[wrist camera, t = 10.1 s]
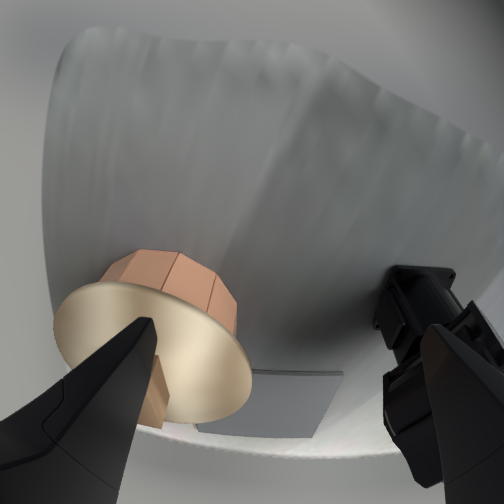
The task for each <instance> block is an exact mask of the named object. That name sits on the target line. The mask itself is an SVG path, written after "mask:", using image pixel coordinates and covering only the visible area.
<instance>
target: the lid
mask: <svg viewBox="0 0 504 504" xmlns="http://www.w3.org/2000/svg"><path fill="white" fill-rule="evenodd" d="M140 316H144V317H151V318H152V319H153V321H154V325H155V329H156V333H157V337H158V341H157V347H156V351H155V356H154V361H153V367H152V372H151V377H150V382H149V386H148V389H147V392H146V396H145V399H144V402H143V405H142V409H141V412H140V415H139V419H138V422H137V424H140V425H145V426H149V427H154V428H159V429H162V425H163V421H166V422H172V423H184V424H194V423H205V422H211V421H215V420H219V419H222V418H225V417H227V416H229V415H231V414H233V413H235V412H236V411H238V410H239V409H240V408H241V407H242V406H243V405H244V404H245V403H246V401H247V400H248V398H249V396H250V392H251V388H252V368H251V364H250V360H249V358H248V356H247V354H246V352H245V350H244V349H243V347H242V346H241V344H240V343H239V341H238V340H237V339H236V338H235V337H234V336H233V335H232V334H231V332H230V331H228V330H227V329H226V328H225V327H224V326H223V325H222V324H221V323H219V322H218V321H217V320H215V319H214V318H213V317H211V316H210V315H208V314H207V313H206V312H204V311H202V310H201V309H199V308H197V307H196V306H194V305H192V304H191V303H189V302H186V301H184V300H182V299H180V298H178V297H176V296H174V295H171V294H168V293H166V292H163V291H161V290H158V289H154V288H151V287H147V286H144V285H139V284H134V283H128V282H116V281H106V282H96V283H91V284H87V285H84V286H82V287H80V288H77V289H76V290H74V291H73V292H72V293H70V294H69V295H68V296H67V298H66V299H65V300H64V301H63V303H62V304H61V305H60V307H59V308H58V310H57V312H56V314H55V318H54V329H53V330H54V336H55V340H56V343H57V346H58V348H59V350H60V352H61V354H62V356H63V358H64V359H65V361H66V363H67V364H68V365H69V367H70V368H71V369H72V370H73V369H74V368H75V367H76V366H78V365H79V364H80V363H81V362H83V361H84V360H85V359H86V358H88V357H89V356H90V355H91V354H93V353H94V352H95V351H96V350H98V349H99V348H100V347H101V346H103V345H104V344H105V343H106V342H108V341H109V340H110V339H111V338H113V337H114V336H115V335H116V334H118V333H119V332H120V331H121V330H123V329H124V328H125V327H126V326H128V325H129V324H130V323H132V322H133V321H134V320H135V319H137V318H138V317H140Z"/></svg>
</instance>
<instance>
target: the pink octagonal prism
mask: <svg viewBox="0 0 504 504" xmlns="http://www.w3.org/2000/svg"><path fill="white" fill-rule="evenodd" d="M106 281H116V282H128V283H134V284H139V285H144V286H147V287H151V288H154V289H158V290H161V291H163V292H166V293H168V294H171V295H174V296H176V297H178V298H180V299H182V300H184V301H186V302H189V303H191V304H192V305H194V306H196V307H197V308H199V309H201V310H202V311H204V312H206V313H207V314H208V315H210V316H211V317H213V318H214V319H215V320H217V321H218V322H219V323H221V324H222V325H223V326H224V327H225V328H226V329H227V330H228V331H230V332H231V334H232V335H233V336H234V337H235V338H236V329H237V303H236V301H235V300H234V298H233V297H232V295H231V294H230V292H229V291H228V289H227V288H226V286H225V285H224V283H223V282H222V281H221V279H220V278H219V276H218V275H217V274H216V273H215V272H213V271H212V270H210V269H208V268H206V267H204V266H203V265H201V264H199V263H197V262H196V261H194V260H192V259H190V258H188V257H187V256H185V255H183V254H181V253H179V255H178V252H171V251H157V250H144V249H140V250H139V249H138V250H137V251H135V252H133V253H131V254H129V255H127V256H125V257H124V258H122V259H120V260H118V261H116V262H114V263H113V264H112V265H111V266H110V267H109V268H108V270H107V271H106V273H105V274H104V275H103V277H102V278H101V279H100V281H99V282H106Z"/></svg>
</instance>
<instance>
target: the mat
mask: <svg viewBox="0 0 504 504" xmlns="http://www.w3.org/2000/svg"><path fill="white" fill-rule="evenodd" d="M343 376H344V373H343V372H286V371H264V370H252V388H251V392H250V396H249V398H248V400H247V401H246V403H245V404H244V405H243V406H242V407H241V408H240V409H239V410H238V411H236V412H235V413H233V414H231V415H229V416H227V417H225V418H222V419H219V420H215V421H211V422H205V423H197V427H198V431H199V432H204V433H212V434H221V435H232V436H244V437H262V438H312V437H313V435H314V433H315V431H316V430H317V428H318V426H319V424H320V422H321V420H322V418H323V417H324V415H325V413H326V411H327V409H328V407H329V405H330V403H331V401H332V399H333V397H334V395H335V393H336V391H337V389H338V387H339V385H340V383H341V381H342V379H343Z"/></svg>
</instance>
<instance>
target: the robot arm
mask: <svg viewBox="0 0 504 504" xmlns="http://www.w3.org/2000/svg"><path fill="white" fill-rule="evenodd" d="M398 271H400V272H399V273H397V272H398ZM396 273H397V274H396ZM455 276H456V273H455V271H454V270H453V269H446V268H430V267H414V266H395V267H394V268H393V269H392V271H391V274H390V277H389V280H388V283H387V286H386V289H385V290H384V291H383V293H382V296H381V299H380V301H379V304H378V307H377V309H376V312H375V318H374V320H373V323H372V326H373V328H374V330H381V333H382V335H383V338H384V341H385V343H386V346H387V348H388V349H389V350H393V353H394V355H395V358H396V361H397V364H398V366H397V367H396V368H394V369H393V370H392V371H390V372H387V373H386V374H384V375H383V419H384V425H385V427H386V429H387V431H388V433H389V435H390V436H391V438H392V441H393V442H394V443H395V445H396V446H397V447H398V448H399V449H400V450H401V452H402V454H403V455H404V457H405V458H406V460H407V463H408V465H409V467H410V470H411V472H412V475H413V478H414V480H415V481H416V482H417V483H418V484H420V485H421V486H422V487H424V488H429V487H432V486H434V485H436V484H438V483H440V482H442V483H444V485H445V486H444V489H445V500H446V504H504V343H503V341H502V339H501V338H500V336H499V335H498V333H497V332H496V330H495V329H494V327H493V326H492V324H491V323H490V321H489V320H488V319H487V318H486V316H485V315H484V314H483V312H482V311H481V310H480V309H479V307H478V306H477V305H476V304H475V303H474V301H473V300H472V301H471V302H470V303H469V304H468V305H467V307H466V308H465V309H463V307H462V306H461V304H460V303H459V301H458V300H457V298H456V297H455V295H454V294H453V292H452V291H451V290H450V288H451V286H452V283H453V281H454V279H455ZM157 341H158V337H157V333H156V329H155V325H154V321H153V319H152V318H151V317H144V316H140V317H138V318H137V319H135V320H134V321H133V322H132V323H130V324H129V325H128V326H126V327H125V328H124V329H123V330H121V331H120V332H119V333H118V334H116V335H115V336H114V337H113V338H111V339H110V340H109V341H108V342H106V343H105V344H104V345H103V346H101V347H100V348H99V349H98V350H96V351H95V352H94V353H93V354H91V355H90V356H89V357H88V358H86V359H85V360H84V361H83V362H81V363H80V364H79V365H78V366H76V367H75V368H74V369H73V370H72V371H70V372H69V373H68V374H67V375H65V376H64V377H63V379H60V380H59V381H58V382H57V383H55V384H54V385H53V386H52V387H50V388H49V389H48V390H47V391H45V392H44V393H43V394H41V395H40V396H38V397H37V398H35V399H34V400H33V401H31V402H30V403H28V404H27V405H25V406H24V407H22V408H21V409H19V410H18V411H16V412H15V413H13V414H12V415H10V416H9V417H7V418H5V419H4V420H2V421H0V504H116V502H117V498H118V494H119V492H118V491H119V489H120V485H121V481H122V477H123V473H124V469H125V465H126V462H127V457H128V454H129V451H130V447H131V443H132V440H133V436H134V433H135V429H136V426H137V422H138V419H139V415H140V412H141V409H142V405H143V402H144V399H145V396H146V392H147V389H148V386H149V382H150V377H151V372H152V367H153V361H154V356H155V351H156V347H157Z"/></svg>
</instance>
